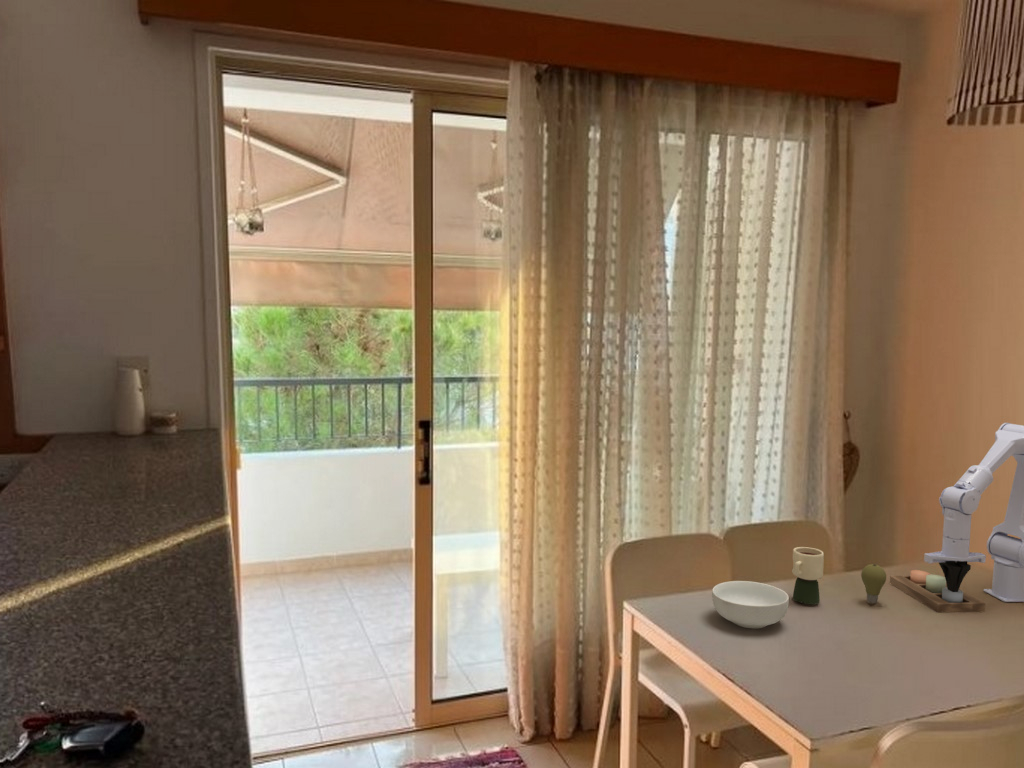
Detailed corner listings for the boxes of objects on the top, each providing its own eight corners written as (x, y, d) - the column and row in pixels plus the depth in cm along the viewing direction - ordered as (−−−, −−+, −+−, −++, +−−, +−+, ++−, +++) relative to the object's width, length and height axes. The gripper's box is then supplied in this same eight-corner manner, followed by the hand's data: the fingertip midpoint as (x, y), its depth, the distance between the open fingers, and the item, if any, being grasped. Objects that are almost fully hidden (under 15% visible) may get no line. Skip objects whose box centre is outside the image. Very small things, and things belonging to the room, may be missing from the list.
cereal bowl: (758, 604, 187) (759, 576, 186) (803, 632, 171) (805, 601, 170) (697, 612, 181) (698, 583, 181) (738, 640, 166) (739, 609, 165)
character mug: (804, 593, 195) (806, 543, 194) (830, 601, 189) (833, 550, 188) (780, 603, 188) (783, 551, 187) (807, 611, 182) (810, 559, 181)
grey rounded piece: (954, 600, 189) (955, 587, 189) (966, 607, 185) (967, 593, 185) (937, 601, 189) (938, 587, 189) (949, 608, 185) (950, 593, 184)
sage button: (938, 587, 196) (938, 574, 195) (949, 593, 191) (950, 580, 191) (921, 587, 195) (922, 574, 195) (932, 594, 191) (933, 580, 191)
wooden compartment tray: (932, 582, 204) (933, 575, 204) (984, 611, 184) (985, 603, 184) (889, 583, 203) (890, 575, 203) (937, 612, 183) (938, 604, 183)
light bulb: (887, 609, 185) (889, 569, 184) (862, 607, 186) (865, 567, 185) (881, 600, 190) (883, 561, 189) (857, 598, 191) (859, 560, 190)
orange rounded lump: (922, 582, 202) (922, 569, 202) (932, 588, 198) (933, 575, 198) (906, 582, 202) (907, 570, 202) (916, 588, 198) (917, 575, 197)
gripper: (973, 531, 190) (969, 584, 191) (917, 532, 189) (914, 585, 190) (993, 539, 183) (989, 594, 184) (936, 540, 182) (932, 595, 183)
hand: (952, 590), depth 187 cm, fingers closed, pressing on grey rounded piece
